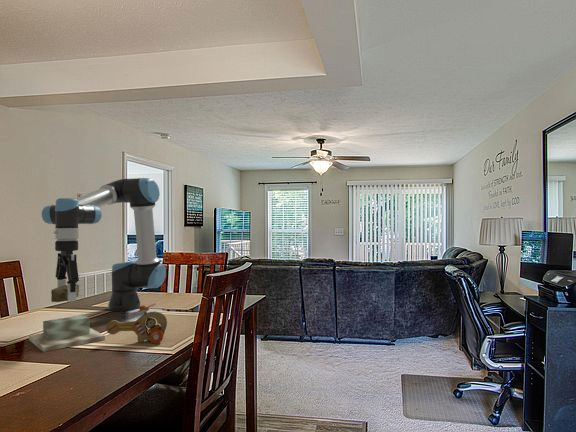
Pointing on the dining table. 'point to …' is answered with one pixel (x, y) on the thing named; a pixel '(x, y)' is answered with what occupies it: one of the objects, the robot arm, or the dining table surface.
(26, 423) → the dining table surface
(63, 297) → the stone block
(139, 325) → the toy helicopter
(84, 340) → the tower base
